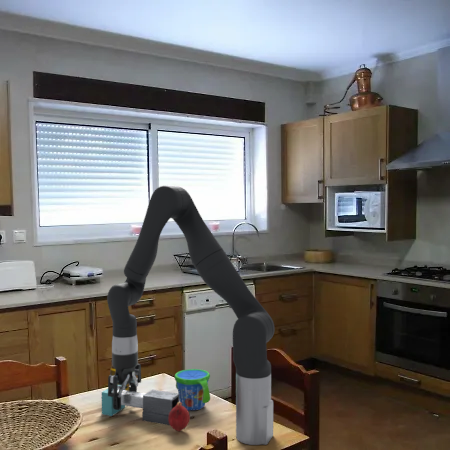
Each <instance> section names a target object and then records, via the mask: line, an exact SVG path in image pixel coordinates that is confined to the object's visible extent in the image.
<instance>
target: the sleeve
mask: <svg viewBox="0 0 450 450" xmlns="http://www.w3.org/2000/svg"><path fill="white" fill-rule="evenodd" d="M145 393H146V394H145V395H143V408H142V412H141V413H142V415H141V416H142V419H141V420H142V421H144V422H148V423H149V422H150V423H153V424H154V423H155V424H158V425H165V426H170V424H169V421H168V417H169V413H170V411H171V410H172V409H173V408H174V407H175V406H176V405H177V403H178V402H180V401H179V394H178V392H169V391H163V390H157V389H151V390H149V391H148V392H145Z"/></svg>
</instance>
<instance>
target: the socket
mask: <svg viewBox="0 0 450 450" xmlns="http://www.w3.org/2000/svg"><path fill="white" fill-rule="evenodd" d="M118 386H122V385H118ZM112 390H113V389H112ZM124 390H125V389H124ZM101 397H102V398H101V415H104V416H110V417H112V416H114V415H116V414H117V413H119V412H120V411H122V410H123V409H125V408H126V406H125V405H121V409H120V410H115V409H114V408H113V397H109V396H108V388H107V389H105V390H102V391H101Z"/></svg>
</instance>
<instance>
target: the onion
mask: <svg viewBox="0 0 450 450" xmlns="http://www.w3.org/2000/svg"><path fill="white" fill-rule="evenodd" d="M181 404H182V403H181V402H180V401H179V402H178V403H177V405H176V406H175V407H174V408H173V409H172V410H171V411H170V413H169V417H168V421H169V424H170V425H169V426H170V427H171V428H172V429H173V430H174V431H176V432H179V433H180V432H182V430H184V429H185V428H186V427H187V426H188V425H189V424H190V419H191V418H190V417H191V416H190V413H189V411H188V410H187V409H186V408H185V407H184V406H182V405H181Z"/></svg>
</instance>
